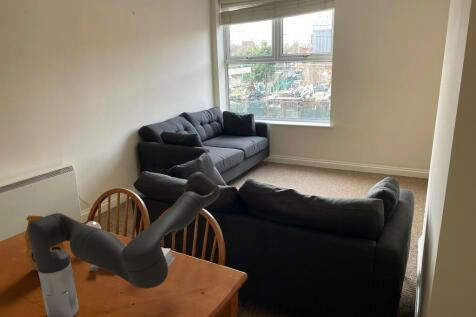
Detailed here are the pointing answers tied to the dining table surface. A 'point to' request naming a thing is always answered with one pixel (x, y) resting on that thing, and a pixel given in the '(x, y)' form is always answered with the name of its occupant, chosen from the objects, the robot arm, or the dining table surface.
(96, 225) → the light bulb
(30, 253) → the coffee package
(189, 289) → the dining table surface
